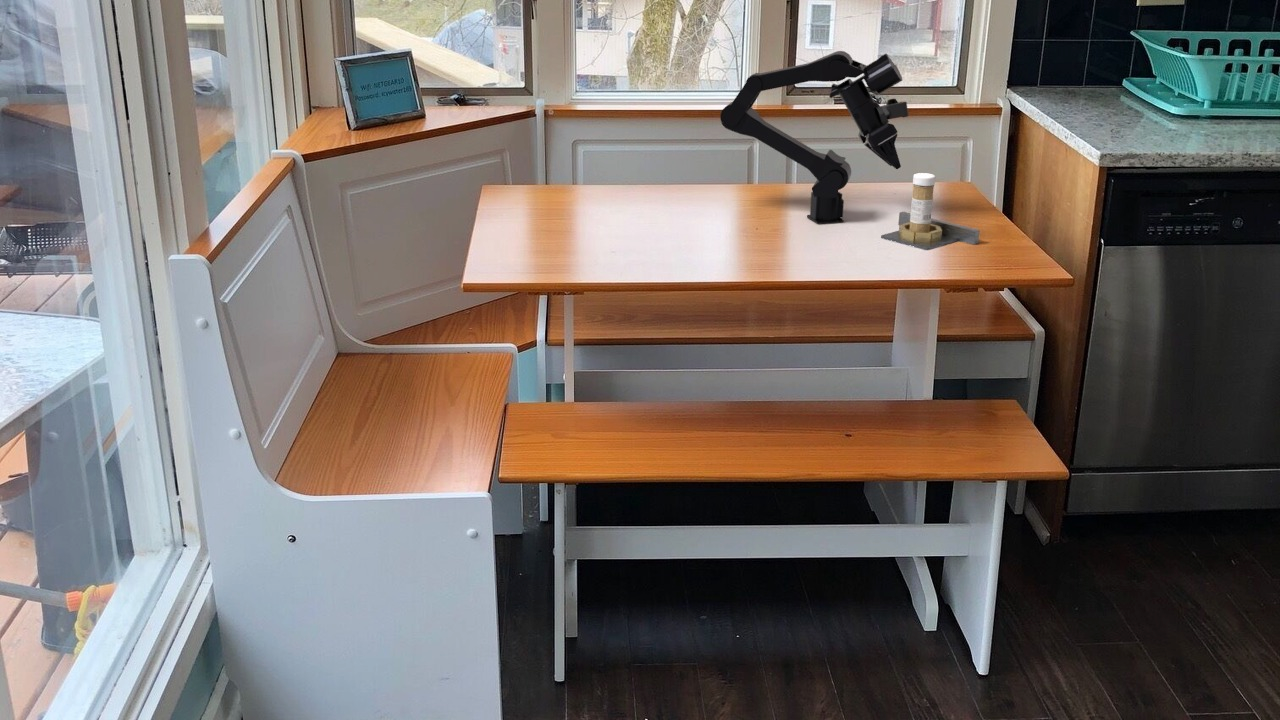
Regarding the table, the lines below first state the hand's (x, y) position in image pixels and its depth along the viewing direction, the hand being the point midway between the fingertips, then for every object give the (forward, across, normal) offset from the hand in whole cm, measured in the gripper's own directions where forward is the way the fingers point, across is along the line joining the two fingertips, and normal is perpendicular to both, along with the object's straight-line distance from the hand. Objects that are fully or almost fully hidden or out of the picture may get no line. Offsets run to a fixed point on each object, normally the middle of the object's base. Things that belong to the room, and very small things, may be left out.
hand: (895, 166), depth 266 cm
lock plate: (+15, -9, +4) cm, 18 cm away
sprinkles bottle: (+14, -9, +4) cm, 18 cm away
